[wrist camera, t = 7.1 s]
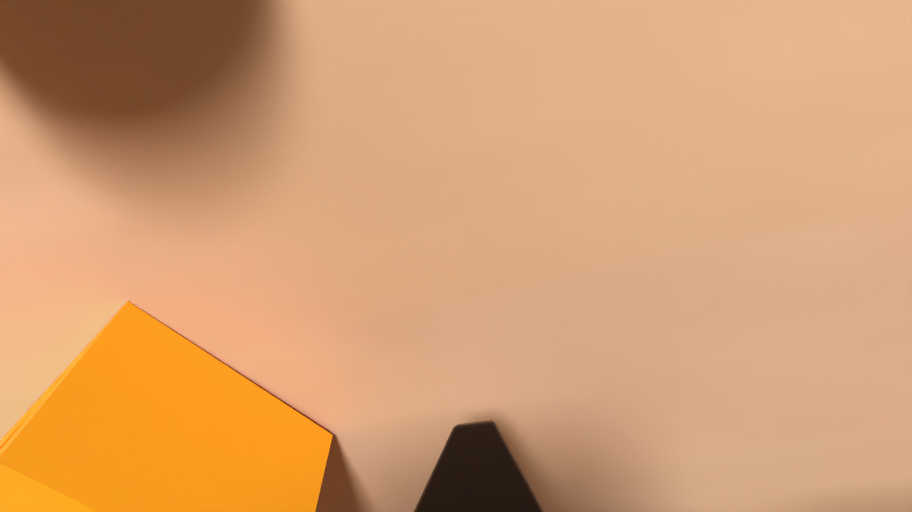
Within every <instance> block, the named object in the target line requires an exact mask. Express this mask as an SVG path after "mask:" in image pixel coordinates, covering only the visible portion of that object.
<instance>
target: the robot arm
mask: <svg viewBox="0 0 912 512" xmlns="http://www.w3.org/2000/svg"><path fill="white" fill-rule="evenodd" d="M414 512H544V511H543V509H542V507H541V506H540V504H539V502H538V500H537V498H536V496H535V495H534V493H533V491H532V489H531V487H530V486H529V484H528V482H527V480H526V478H525V476H524V475H523V473H522V471H521V469H520V467H519V466H518V464H517V462H516V460H515V458H514V456H513V455H512V453H511V451H510V449H509V447H508V445H507V444H506V442H505V440H504V438H503V436H502V435H501V433H500V431H499V429H498V427H497V425H496V424H495V423H494V422H493V421H490V420H489V421H481V422H473V423H465V424H458V425H456V426H455V427H454V428H453V430H452V432H451V434H450V436H449V438H448V440H447V442H446V444H445V446H444V449H443V451H442V453H441V455H440V457H439V459H438V461H437V463H436V466H435V468H434V470H433V472H432V474H431V476H430V478H429V480H428V483H427V485H426V487H425V489H424V491H423V493H422V495H421V497H420V499H419V502H418V504H417V506H416V508H415V510H414Z"/></svg>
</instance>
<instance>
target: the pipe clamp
mask: <svg viewBox="0 0 912 512" xmlns="http://www.w3.org/2000/svg"><path fill="white" fill-rule="evenodd" d="M332 436H333V435H332V434H330V433H329V432H327V431H326V430H324V429H323V428H321V427H320V426H318V425H317V424H315V423H314V422H312V421H311V420H309V419H308V418H306V417H304V416H303V415H301V414H300V413H298V412H297V411H295V410H294V409H292V408H291V407H289V406H288V405H286V404H285V403H283V402H282V401H280V400H278V399H277V398H275V397H274V396H272V395H271V394H269V393H268V392H266V391H265V390H263V389H262V388H260V387H259V386H257V385H255V384H254V383H252V382H251V381H249V380H248V379H246V378H245V377H243V376H242V375H240V374H239V373H237V372H236V371H234V370H233V369H231V368H229V367H228V366H226V365H225V364H223V363H222V362H220V361H219V360H217V359H216V358H214V357H213V356H211V355H210V354H208V353H207V352H205V351H203V350H202V349H200V348H199V347H197V346H196V345H194V344H193V343H191V342H190V341H188V340H187V339H185V338H184V337H182V336H180V335H179V334H177V333H176V332H174V331H173V330H171V329H170V328H168V327H167V326H165V325H164V324H162V323H161V322H159V321H158V320H156V319H154V318H153V317H151V316H150V315H148V314H147V313H145V312H144V311H142V310H141V309H139V308H138V307H136V306H135V305H133V304H132V303H130V302H127V303H126V304H125V305H124V306H123V307H122V308H121V309H120V310H119V311H118V313H117V314H116V315H115V316H114V317H113V318H112V319H111V320H110V321H109V322H108V323H107V325H106V326H105V327H104V328H103V329H102V330H101V331H100V332H99V333H98V334H97V335H96V337H95V338H94V339H93V340H92V341H91V342H90V343H89V344H88V345H87V346H86V347H85V349H84V350H83V351H82V352H81V353H80V354H79V355H78V356H77V357H76V358H75V360H74V361H73V362H72V363H71V364H70V365H69V366H68V367H67V368H66V369H65V370H64V372H63V373H62V374H61V375H60V376H59V377H58V378H57V379H56V380H55V381H54V382H53V384H52V385H51V386H50V387H49V388H48V389H47V390H46V391H45V392H44V393H43V394H42V396H41V397H40V398H39V399H38V400H37V401H36V402H35V403H34V404H33V405H32V407H31V408H30V409H29V410H28V411H27V412H26V413H25V414H24V415H23V416H22V417H21V419H20V420H19V421H18V422H17V423H16V424H15V425H14V426H13V427H12V428H11V429H10V431H9V432H8V433H7V434H6V435H5V436H4V437H3V438H2V439H1V440H0V512H315V511H316V506H317V502H318V498H319V493H320V489H321V484H322V480H323V476H324V471H325V467H326V462H327V458H328V454H329V449H330V445H331V441H332Z"/></svg>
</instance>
